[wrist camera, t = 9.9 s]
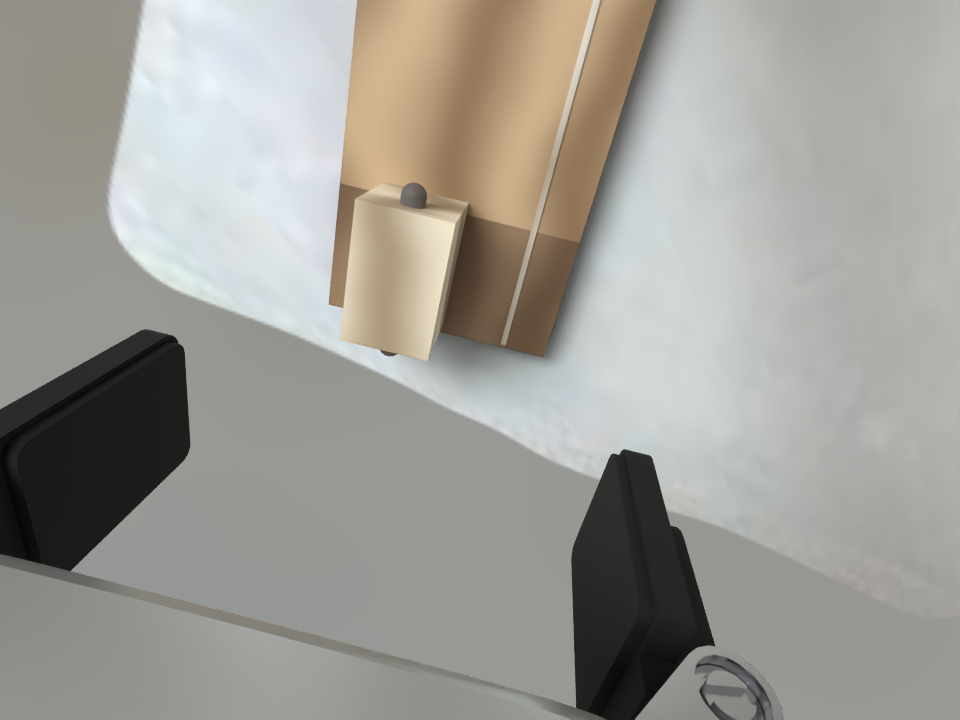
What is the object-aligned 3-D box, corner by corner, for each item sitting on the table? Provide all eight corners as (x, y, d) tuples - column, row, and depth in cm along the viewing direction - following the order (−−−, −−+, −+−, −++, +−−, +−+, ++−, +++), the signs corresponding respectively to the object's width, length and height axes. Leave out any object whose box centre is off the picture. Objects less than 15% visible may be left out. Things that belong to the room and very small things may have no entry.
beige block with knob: (472, 183, 27) (459, 200, 22) (440, 337, 31) (424, 378, 27) (387, 162, 27) (357, 175, 22) (366, 319, 31) (338, 357, 27)
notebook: (667, -50, 23) (675, -60, 22) (543, 346, 32) (543, 357, 31) (380, -124, 23) (369, -139, 22) (337, 295, 32) (328, 304, 31)
